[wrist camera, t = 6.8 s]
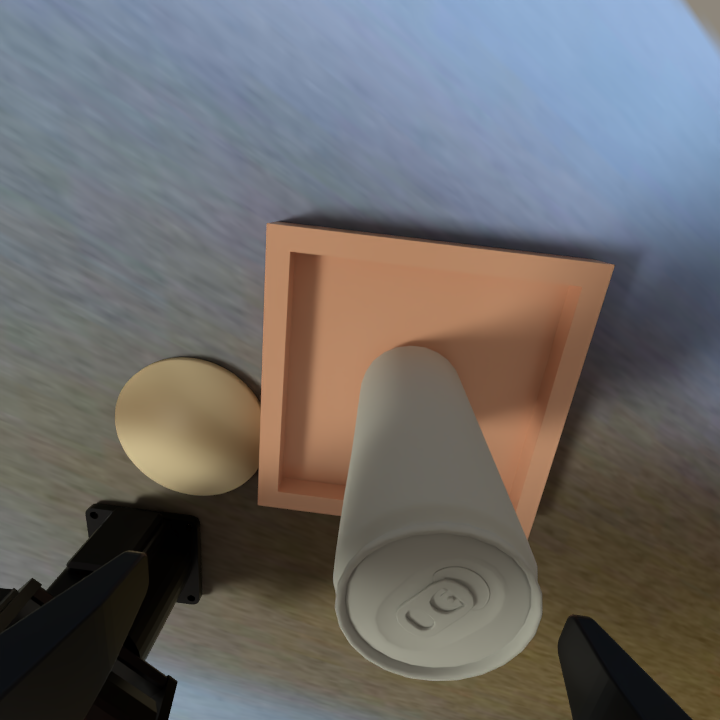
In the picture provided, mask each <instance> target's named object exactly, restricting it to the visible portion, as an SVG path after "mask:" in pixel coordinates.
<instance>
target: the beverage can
mask: <svg viewBox="0 0 720 720" xmlns="http://www.w3.org/2000/svg"><path fill="white" fill-rule="evenodd" d="M333 583H334V588H335V592H336V601H335V609H336V614H337V618H338V623H339V627H340V628H341V630H342V632H343V633H344V635H345V636H346V638H347V640H348V641H349V643H350V645H352V646H353V647H354V648H355V649H356V650H357V651H358V652H359V653H360V654H361V655H362V656H363V657H364V658H365V659H367V660H369V661H370V662H372V663H374V664H376V665H377V666H379V667H381V668H383V669H385V670H387V671H390V672H393V673H396V674H399V675H402V676H405V677H408V678H414V679H422V680H429V681H447V680H461V679H465V678H469V677H474V676H478V675H482V674H485V673H487V672H489V671H491V670H494V669H496V668H498V667H500V666H503V665H505V664H506V663H507V662H508V661H510V660H511V659H512V658H514V657H515V656H516V655H518V654H519V653H520V652H522V651H523V649H524V648H525V647H526V646H527V644H528V643H529V642H530V641H531V639H532V638H533V637H534V635H535V634H536V631H537V628H538V625H539V623H540V620H541V617H542V592H541V589H540V587H539V584H538V582H537V564H536V561H535V558H534V556H533V553H532V551H531V548H530V546H529V543H528V540H527V538H526V536H525V533H524V531H523V529H522V526H521V524H520V521H519V519H518V517H517V514H516V512H515V509H514V507H513V505H512V502H511V500H510V498H509V495H508V493H507V490H506V488H505V486H504V483H503V481H502V478H501V476H500V474H499V471H498V469H497V467H496V464H495V462H494V459H493V457H492V455H491V452H490V450H489V448H488V445H487V443H486V440H485V438H484V436H483V433H482V431H481V428H480V426H479V424H478V421H477V419H476V417H475V414H474V412H473V409H472V407H471V405H470V402H469V400H468V397H467V395H466V393H465V390H464V388H463V386H462V383H461V381H460V378H459V376H458V374H457V371H456V370H455V368H454V367H453V366H452V364H451V363H450V362H449V361H448V360H447V359H446V358H445V357H443V356H442V355H440V354H439V353H438V352H435V351H433V350H430V349H428V348H425V347H419V346H403V347H396V348H394V349H391V350H389V351H386V352H384V353H383V354H381V355H380V356H379V357H377V358H376V359H375V360H373V362H372V363H371V365H370V366H369V368H368V369H367V371H366V373H365V375H364V378H363V380H362V383H361V389H360V396H359V403H358V410H357V418H356V425H355V433H354V440H353V447H352V453H351V459H350V465H349V471H348V477H347V482H346V488H345V494H344V501H343V507H342V514H341V520H340V527H339V534H338V541H337V548H336V555H335V564H334V573H333Z"/></svg>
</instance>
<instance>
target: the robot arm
mask: <svg viewBox="0 0 720 720" xmlns="http://www.w3.org/2000/svg"><path fill="white" fill-rule="evenodd" d="M86 521H87V528H88V535H89V539H88V540H87V541H86V542H85V543H84V544H83V545H82V547H81V548H80V549H79V550H78V551H77V552H76V553H75V555H74V556H73V557H72V558H71V559H70V560H69V561H68V563H67V567H66V568H65V570H64V571H63V572H62V573H61V574H60V575H59V576H58V578H57V579H56V580H55V581H54V582H53V583H52V584H51V586H50V587H49V588H48V589H47V590H45V589H43V588H42V587H41V585H42V584H41V583H39V582H38V581H36V580H35V579H33V578H31V579H30V580H29V581H28V582H27V583H26V584H25V585H23V586H22V587H21V588H20V589H19V590H18V591H17V590H16V589H15V588H13V589H3V588H0V720H168V718H169V714H170V710H171V706H172V702H173V698H174V694H175V690H176V686H177V681H176V680H175V679H174V678H172V677H171V676H169V675H168V676H165V675H164V674H163V673H161V672H160V671H158V670H157V669H156V668H154V667H153V666H151V665H150V664H149V663H147V662H146V661H145V660H146V658H147V656H148V654H149V652H150V651H151V649H152V647H153V645H154V643H155V641H156V639H157V637H158V635H159V633H160V631H161V630H162V628H163V626H164V624H165V622H166V620H167V618H168V616H169V614H170V612H171V611H172V609H173V607H174V605H175V603H176V602H178V603H186V604H197V603H198V602H199V600H200V598H201V596H202V578H201V540H200V522H199V520H198V519H197V518H195V517H193V516H188V515H180V514H172V513H165V512H157V511H149V510H142V509H134V508H126V507H119V506H111V505H103V504H93V505H91V506H90V507H89V508H88V510H87V511H86ZM188 524H189V525H191V526H189V525H188ZM558 655H559V659H560V664H561V668H562V673H563V677H564V682H565V686H566V691H567V695H568V699H569V704H570V708H571V713H572V717H573V720H692V719H691V718H690V717H689V716H688V715H687V714H686V713H685V712H684V711H683V710H682V709H681V707H680V706H679V705H678V704H677V703H676V702H675V701H674V700H673V699H672V698H671V697H670V696H669V695H668V694H667V693H666V692H665V691H664V690H663V689H662V688H661V687H660V686H659V685H658V684H657V683H656V682H655V681H654V680H653V679H652V678H651V677H650V676H649V675H648V674H647V673H646V672H645V671H644V670H643V669H642V668H641V667H640V666H639V665H638V664H637V663H636V662H635V661H634V660H633V659H632V658H631V657H630V656H629V655H628V654H627V653H626V652H625V651H624V650H623V649H622V648H621V647H620V646H619V645H618V644H617V643H616V642H615V641H614V640H613V639H612V638H611V637H610V636H609V635H608V634H607V633H606V632H605V631H604V630H603V629H602V628H601V627H600V626H599V625H598V624H597V623H596V622H595V621H594V620H593V619H592V618H590V617H587V616H581V615H570V616H569V617H568V619H567V621H566V623H565V626H564V628H563V631H562V633H561V635H560V638H559V641H558Z"/></svg>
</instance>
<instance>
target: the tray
mask: <svg viewBox="0 0 720 720" xmlns="http://www.w3.org/2000/svg"><path fill="white" fill-rule="evenodd" d="M614 266H615V265H613V264H609V263H606V262H602V261H598V260H595V259H587V258H579V257H570V256H562V255H554V254H545V253H537V252H529V251H520V250H512V249H504V248H495V247H487V246H478V245H470V244H462V243H453V242H445V241H437V240H428V239H420V238H412V237H403V236H395V235H387V234H378V233H370V232H362V231H353V230H345V229H337V228H328V227H320V226H312V225H303V224H295V223H287V222H278V221H277V222H271V223H267V233H266V264H265V294H264V325H263V356H262V387H261V417H260V448H259V479H258V505H260V506H268V507H275V508H283V509H291V510H298V511H306V512H314V513H322V514H329V515H337V516H341V514H342V507H343V501H344V494H345V488H346V482H347V477H348V471H349V465H350V459H351V453H352V447H353V440H354V433H355V425H356V418H357V410H358V403H359V396H360V389H361V383H362V380H363V378H364V375H365V373H366V371H367V369H368V368H369V366H370V365H371V363H372V362H373V360H375V359H376V358H377V357H379V356H380V355H381V354H383V353H384V352H386V351H389V350H391V349H394V348H396V347H403V346H419V347H425V348H428V349H430V350H433V351H435V352H438V353H439V354H440V355H442V356H443V357H445V358H446V359H447V360H448V361H449V362H450V363H451V364H452V366H453V367H454V368H455V370H456V371H457V374H458V376H459V378H460V381H461V383H462V386H463V388H464V390H465V393H466V395H467V397H468V400H469V402H470V405H471V407H472V409H473V412H474V414H475V417H476V419H477V421H478V424H479V426H480V428H481V431H482V433H483V436H484V438H485V440H486V443H487V445H488V448H489V450H490V452H491V455H492V457H493V459H494V462H495V464H496V467H497V469H498V471H499V474H500V476H501V478H502V481H503V483H504V486H505V488H506V490H507V493H508V495H509V498H510V500H511V502H512V505H513V507H514V509H515V512H516V514H517V517H518V519H519V521H520V524H521V526H522V529H523V531H524V533H525V536H526V538H527V540H528V537H529V534H530V531H531V528H532V525H533V522H534V518H535V515H536V512H537V509H538V506H539V503H540V499H541V496H542V493H543V490H544V487H545V484H546V481H547V477H548V474H549V471H550V468H551V465H552V462H553V458H554V455H555V452H556V449H557V446H558V443H559V440H560V436H561V433H562V430H563V427H564V424H565V421H566V417H567V414H568V411H569V408H570V405H571V402H572V399H573V395H574V392H575V389H576V386H577V383H578V380H579V377H580V373H581V370H582V367H583V364H584V361H585V358H586V354H587V351H588V348H589V345H590V342H591V339H592V336H593V332H594V329H595V326H596V323H597V320H598V317H599V313H600V310H601V307H602V304H603V301H604V298H605V295H606V291H607V288H608V285H609V282H610V279H611V276H612V272H613V269H614Z"/></svg>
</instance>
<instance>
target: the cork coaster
mask: <svg viewBox="0 0 720 720" xmlns="http://www.w3.org/2000/svg"><path fill="white" fill-rule="evenodd" d="M260 417H261V404H260V402H259V400H258V399H257V397H256V396H255V394H254V393H253V392H252V390H251V389H250V388H249V387H248V386H247V385H246V384H245V383H244V382H243V381H242V380H241V379H240V378H238V377H237V376H236V375H234V374H233V373H232V372H230V371H228V370H227V369H225V368H223V367H221V366H219V365H217V364H214V363H212V362H209V361H205V360H202V359H196V358H188V357H177V358H169V359H164V360H160V361H158V362H155V363H152V364H151V365H149V366H147V367H145V368H144V369H142V370H141V371H139V372H138V373H137V374H135V375H134V376H133V377H132V378H131V379H130V380H129V381H128V382H127V383H126V385H125V386H124V387H123V389H122V391H121V393H120V395H119V397H118V400H117V404H116V410H115V424H116V430H117V434H118V437H119V440H120V442H121V444H122V447H123V449H124V450H125V452H126V453H127V455H128V457H129V458H130V459H131V460H132V462H133V463H134V464H135V465H136V466H137V467H138V468H139V469H140V470H141V471H142V472H143V473H144V474H145V475H147V476H148V477H149V478H151V479H152V480H154V481H155V482H157V483H159V484H161V485H162V486H164V487H166V488H169V489H171V490H174V491H177V492H181V493H184V494H190V495H199V496H208V495H217V494H222V493H225V492H229V491H231V490H233V489H236V488H237V487H239V486H241V485H242V484H244V483H245V482H246V481H248V480H249V479H250V478H251V477H252V476H253V475H254V473H255V472H256V471H257V469H258V468H259V448H260Z"/></svg>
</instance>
